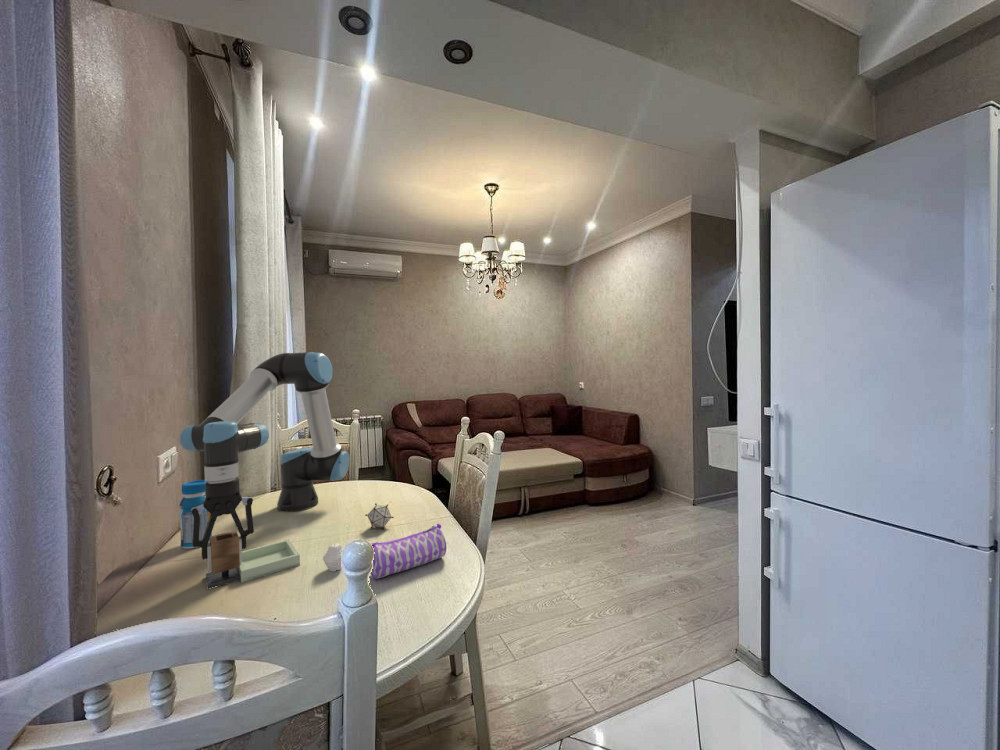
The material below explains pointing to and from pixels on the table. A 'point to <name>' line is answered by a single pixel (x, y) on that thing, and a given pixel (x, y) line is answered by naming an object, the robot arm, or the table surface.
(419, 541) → the pencil case
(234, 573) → the pin
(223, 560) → the bore block
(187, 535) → the beverage bottle
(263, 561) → the tray
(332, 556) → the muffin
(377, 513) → the game die
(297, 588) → the table surface
